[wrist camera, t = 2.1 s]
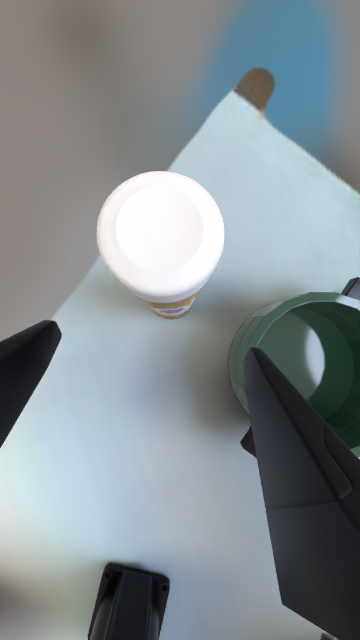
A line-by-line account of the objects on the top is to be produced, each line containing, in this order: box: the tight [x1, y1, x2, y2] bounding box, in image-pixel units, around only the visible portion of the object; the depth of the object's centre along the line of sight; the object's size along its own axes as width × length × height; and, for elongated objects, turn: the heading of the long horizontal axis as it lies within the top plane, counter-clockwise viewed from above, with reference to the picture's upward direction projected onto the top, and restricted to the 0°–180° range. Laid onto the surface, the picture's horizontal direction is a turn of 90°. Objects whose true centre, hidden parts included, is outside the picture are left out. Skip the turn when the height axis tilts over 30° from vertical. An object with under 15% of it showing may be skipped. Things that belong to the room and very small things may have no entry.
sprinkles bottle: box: [97, 171, 224, 319], centre depth 13 cm, size 5×5×14 cm
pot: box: [228, 292, 360, 457], centre depth 17 cm, size 14×14×4 cm
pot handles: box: [240, 277, 360, 458], centre depth 16 cm, size 18×4×1 cm, turn 144°
